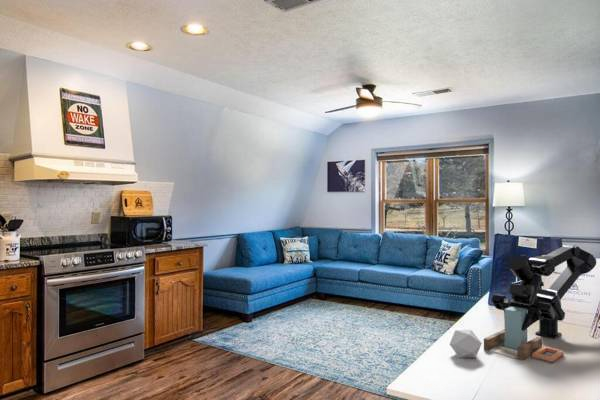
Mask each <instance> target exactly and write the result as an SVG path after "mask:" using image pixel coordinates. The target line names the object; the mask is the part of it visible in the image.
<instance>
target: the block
mask: <svg viewBox="0 0 600 400" xmlns="http://www.w3.org/2000/svg"><path fill="white" fill-rule="evenodd" d="M527 312H528V310H527V309H523V308H518V307H512V306H511V307H509V308H506V309H505V320H504V329H505V343H504V347H506V348H509V349H513V350H517V347H519V346H521V345H523V344H524V343H526V342H528V328H527V329H526V330H524V331H522V325H523V323H524V320H525V318H526V316H527Z"/></svg>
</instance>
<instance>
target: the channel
mask: <svg viewBox="0 0 600 400" xmlns="http://www.w3.org/2000/svg"><path fill="white" fill-rule="evenodd" d="M502 344H505V328H504V329H502V330H500V331H498V332H494V333H493V334H490V335H489V336H485V337H484V338H483V350H485V351H488V352H490V353H491V352H492V353H495V354H500V355H502V356H506V357H510V358H513V359H517V360H520V361H523V360H526V359H528V357H531V356H532V353H534V352H535V351H537V350H539V349H540V348H542V347H543V337H539V336H536V337H534V338H531V339H530V340H527V342H526V343H524V344H523V345H521V346H519V347H517V350H514V349H510V348H506V347H505V346H502Z"/></svg>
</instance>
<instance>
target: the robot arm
mask: <svg viewBox="0 0 600 400" xmlns="http://www.w3.org/2000/svg"><path fill="white" fill-rule="evenodd" d="M565 262H566V267H565V269H563V270H562V272H561V273H560V274H559V276H558V277H557V278H556V279H555V281H554V282H553V283H552V284H551V285H550V286H549V288H548V289H544V288H543V289H542V288H540V287H544V286H545V285H544V281H543V279H542V278H541V276H543V277H550V276H551V275H552V274H553V273H554V272H555V271H556V267H558V266H559V265H561V264H563V263H565ZM596 265H597V259H596V257H594V255H593V254H591V253H590V252H588V251H586V250H584V249H582V248H581V247H580V246H577V245H573V244H563V245H562V246H561V247H559V248H557V249H555V250H553V251H551V252H550V253H547V254H546V255H539V256H533V257H530V258H528V257H527V255H523V254H519V255H518V256H517V257H514V258H513V259H511V260H510V261H509V262H508V268H509V269H510V271H511V272H512V273H513V275H514V276H515V277H516V279H518V280H519V281H520V283H519V284H517V283H510V284H509V287H508V291H507V292H508V294H509V295H511V296H510V297H511V299H513V300H511V299H509V298H507V297H506V295H502V294H499V293H494V294H492V296H491V298H490V301H491V302H492V304H493V306H494V307H495V308H496V309H497V310H500V311H503V315H504V319H503V320H504V321H505V309H506V308H509V307H511V306H512V307H518V308H523V309H527V316H526V318H525V320H524V323H523V325H522V331H524V330H526V329H527V330H528V328H530V327H531V326H532V325H533V324H536V323H537V322H538V327H539V329H538V330H537V331H535V335H538V336H543V337H547V338H552V339H557V338H558V337H560V336H562V332H559V324H558V323H559V321H560V322H562V321H563V320H564V319H565V317H566V312H565V311H564V310H563V308H562V302H561V300H562V299H563V297H564V296H565V295H566V293H567V292H568V291H569V290H570V288H571V287H573V285H574V284H575V282H577V280H578V278H579V277H580V276H582V275H585V274H588V273H590V272H591V271H592V270H593V269H594V268H595V267H596Z"/></svg>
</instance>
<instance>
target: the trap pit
mask: <svg viewBox="0 0 600 400" xmlns="http://www.w3.org/2000/svg"><path fill="white" fill-rule="evenodd" d="M564 354H565V353H564V350H561V349H557V348H553V347H549V346H545V345H544V346H542V348H540V349H539V350H537V351H535V352H534V353H532V355H531V356H532V359H534V360H538V361H541V362H546V363H549V364H554V363H555V362H557V361H558V360H560V359H561V358H563V357H564Z"/></svg>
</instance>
